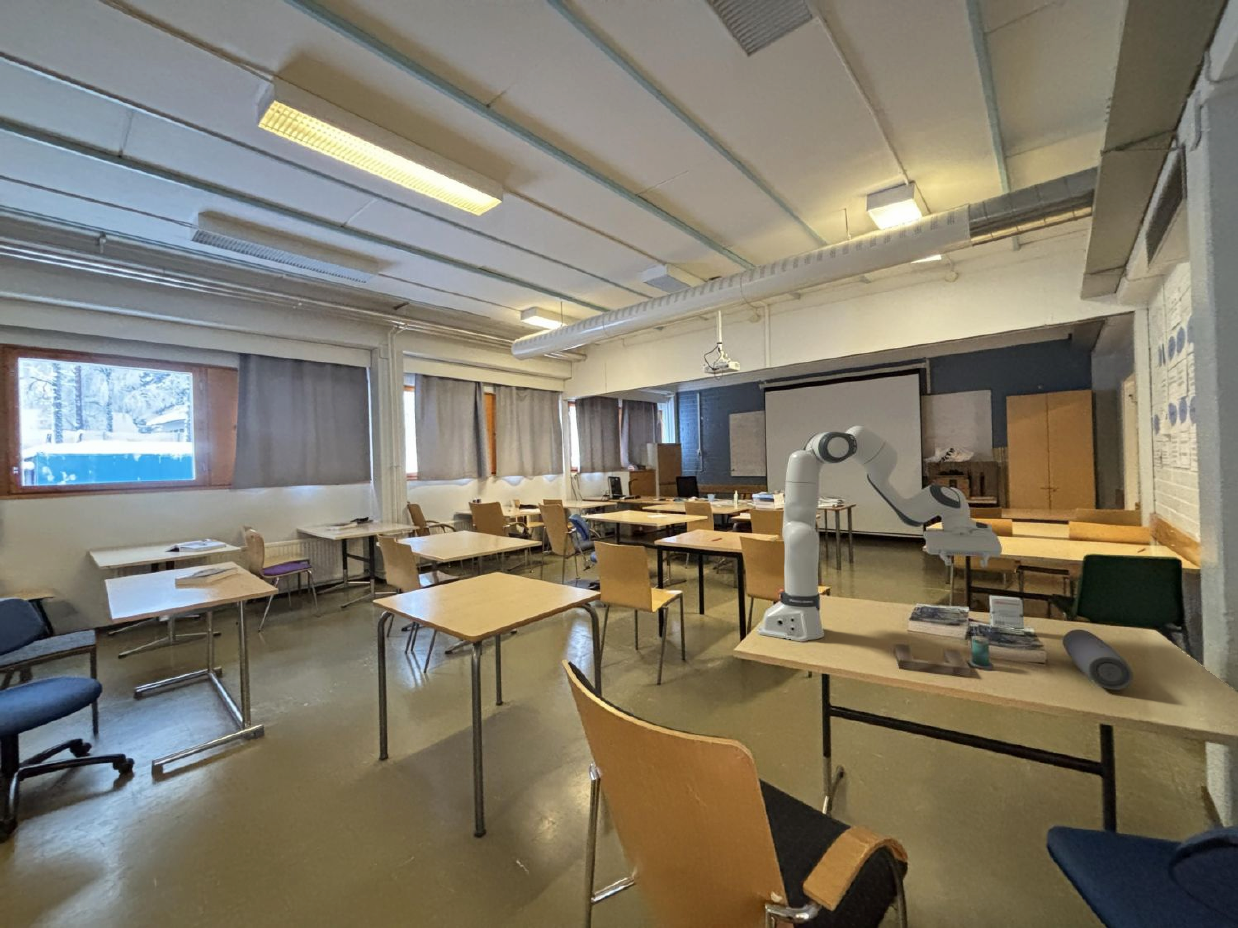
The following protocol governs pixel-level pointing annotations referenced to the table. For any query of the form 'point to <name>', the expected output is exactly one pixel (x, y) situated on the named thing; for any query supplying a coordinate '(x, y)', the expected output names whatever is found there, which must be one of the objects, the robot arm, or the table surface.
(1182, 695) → the table surface
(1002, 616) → the ink box
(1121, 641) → the table surface
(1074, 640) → the bluetooth speaker
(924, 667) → the notched board
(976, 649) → the bobbin
